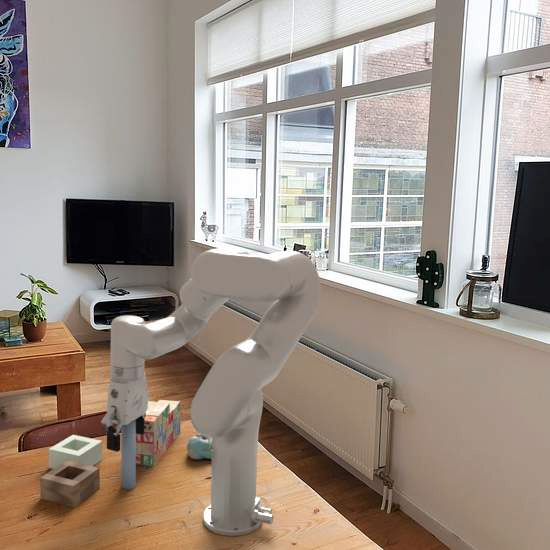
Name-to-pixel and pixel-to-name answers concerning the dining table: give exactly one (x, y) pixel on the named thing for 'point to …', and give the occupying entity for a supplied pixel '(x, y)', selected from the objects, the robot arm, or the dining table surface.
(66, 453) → the white square hollow block
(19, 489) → the dining table surface
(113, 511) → the dining table surface
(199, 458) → the teal cartoon creature figurine
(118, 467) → the dining table surface
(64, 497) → the brown wooden square ring
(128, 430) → the light blue rod
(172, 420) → the stack of blocks
